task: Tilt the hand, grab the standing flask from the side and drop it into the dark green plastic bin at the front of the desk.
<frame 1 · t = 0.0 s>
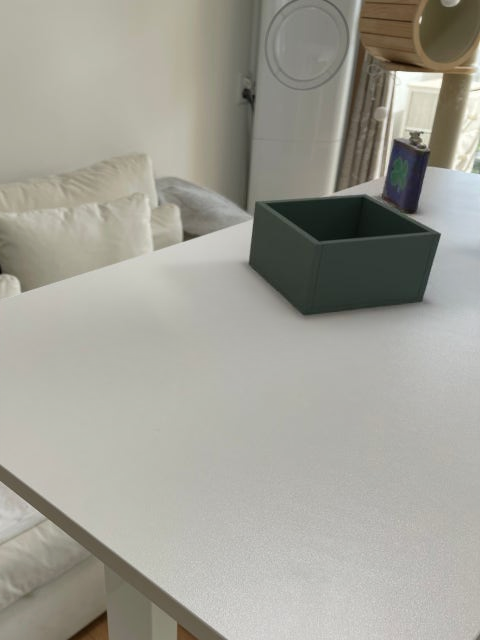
flask: (398, 206, 102), on the table
bin: (331, 281, 75), on the table
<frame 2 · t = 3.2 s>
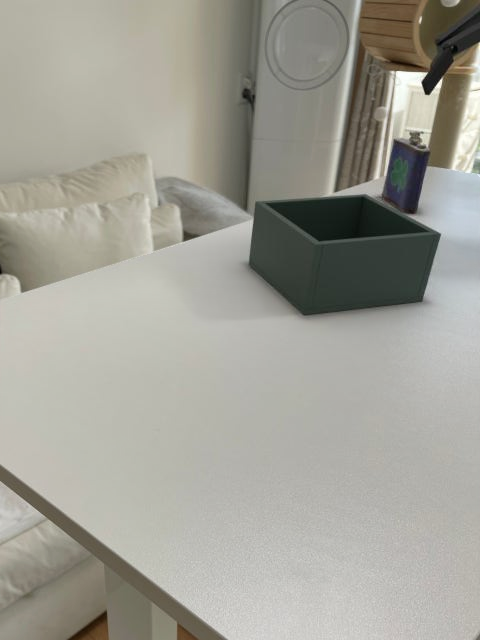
hand: (463, 95, 98), 15 cm above the table, tool tilted 45°, fingers open, 13 cm apart
nothing on the table moved.
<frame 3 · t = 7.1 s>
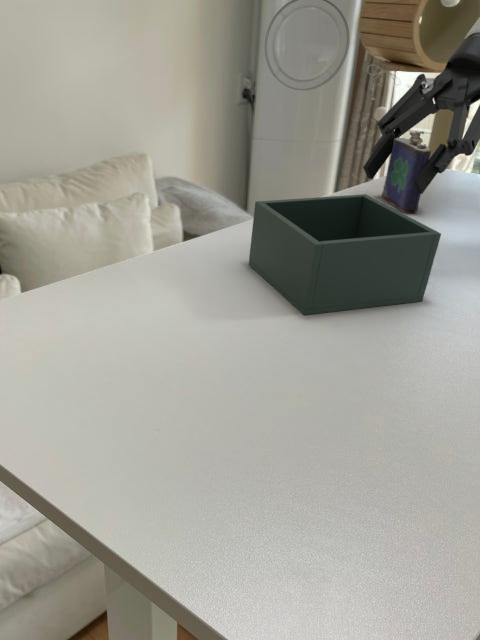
hand: (392, 180, 97), 4 cm above the table, tool tilted 45°, fingers closed on flask, 8 cm apart
flask: (399, 206, 101), on the table, touching gripper
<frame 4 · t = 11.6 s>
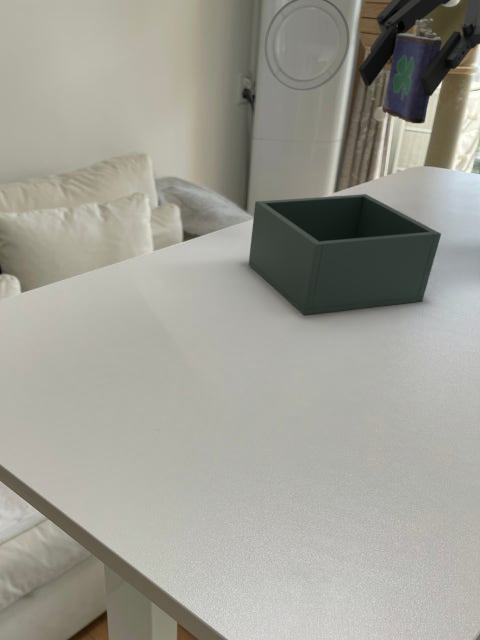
hand: (393, 82, 79), 19 cm above the table, tool tilted 45°, fingers closed on flask, 8 cm apart
flask: (402, 118, 83), point 14 cm above the table, touching gripper
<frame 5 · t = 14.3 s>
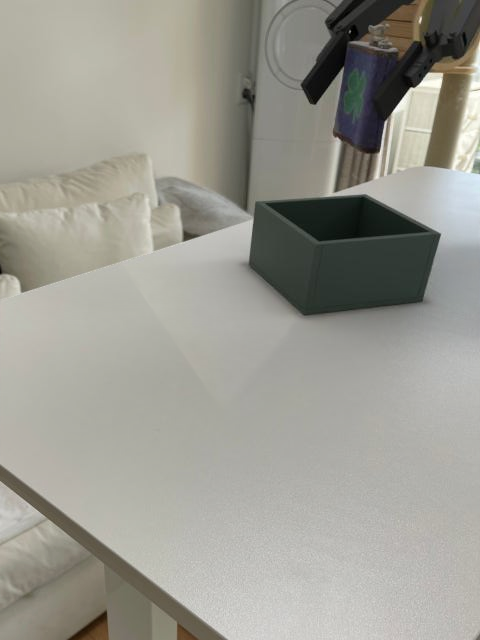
hand: (341, 102, 64), 19 cm above the table, tool tilted 45°, fingers closed on flask, 8 cm apart
flask: (355, 145, 68), point 15 cm above the table, touching gripper
when the fingers open (15 cm above the table, at t = 16.1 s): flask drops 10 cm, resting on bin.
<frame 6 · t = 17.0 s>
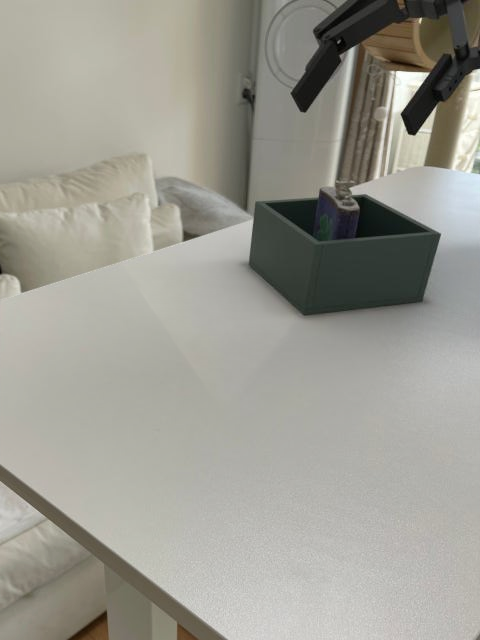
hand: (348, 113, 64), 18 cm above the table, tool tilted 45°, fingers open, 13 cm apart
flask: (327, 277, 76), resting on bin
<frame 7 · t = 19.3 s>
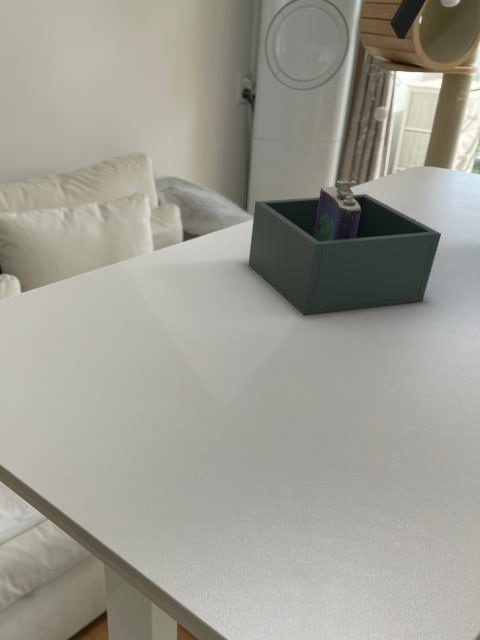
hand: (450, 36, 70), 24 cm above the table, tool tilted 35°, fingers open, 13 cm apart
nothing on the table moved.
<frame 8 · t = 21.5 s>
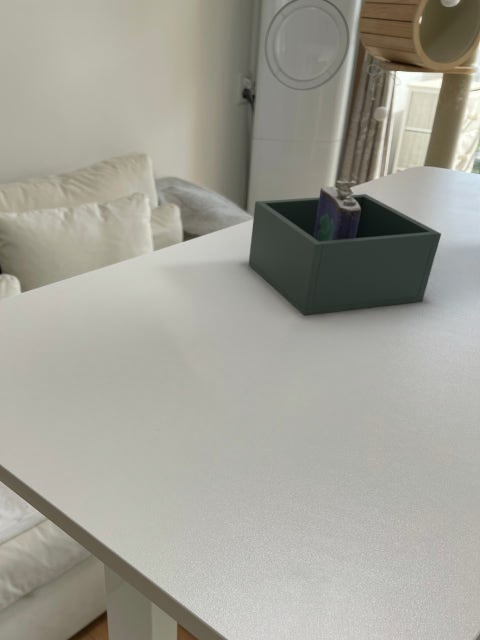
nothing on the table moved.
at the end: flask inside the target area in the bin (0.5 cm from its centre), point 0.4 cm above the bin's base; the gripper is holding nothing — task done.
